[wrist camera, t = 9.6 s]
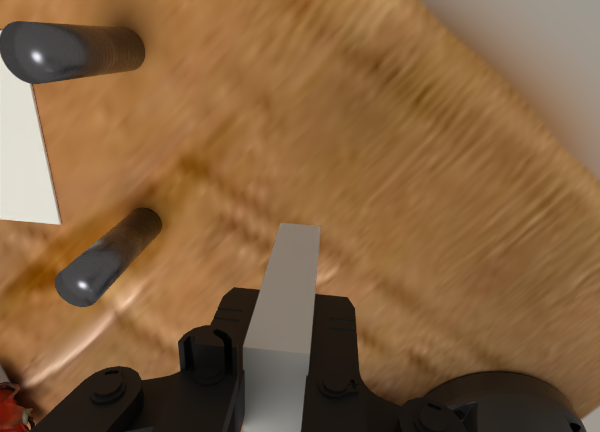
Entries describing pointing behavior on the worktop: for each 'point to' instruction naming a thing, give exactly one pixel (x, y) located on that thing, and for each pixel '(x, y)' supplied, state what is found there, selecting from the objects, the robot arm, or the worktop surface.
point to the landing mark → (23, 156)
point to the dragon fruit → (13, 410)
